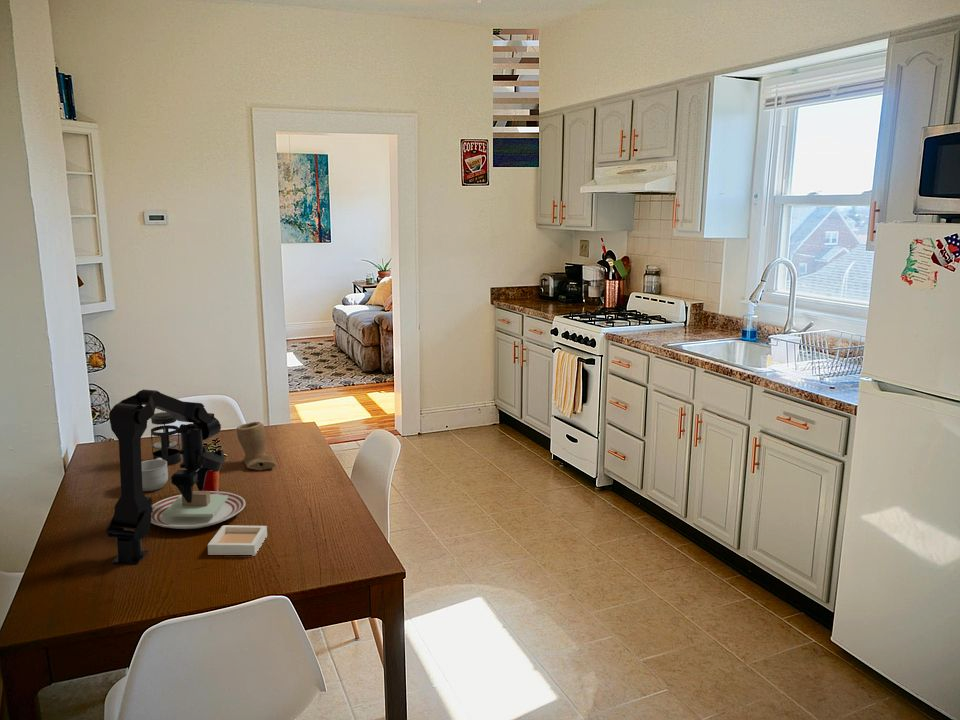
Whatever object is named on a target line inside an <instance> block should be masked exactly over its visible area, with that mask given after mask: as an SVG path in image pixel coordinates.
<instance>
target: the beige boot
mask: <svg viewBox="0 0 960 720" xmlns="http://www.w3.org/2000/svg"><path fill="white" fill-rule="evenodd" d="M265 429H266V428H265V425H264V424H263V423H262V422H260V421H252V422H248V423H243V424H240V425H238V426H237V427H236V434H237V435H236V436H237V439H238V441H239V444H240V446H241V448H242V450H243V452H244V457H243V462H244V464H245V465H246V467H247V469H251V470H255V471H265V470H270V469H272V468H274V467H276V466H277V463H276V460H275V458H274V457H273V455H272V454H271V453H270V452H266V439H267V437H266V430H265Z"/></svg>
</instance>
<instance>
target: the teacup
mask: <svg viewBox="0 0 960 720" xmlns="http://www.w3.org/2000/svg"><path fill="white" fill-rule="evenodd" d="M141 463H142V488H143V492H152V491H157V490H160V489H161V488H163V487H164V486H165V484H166V483H167V482H168V481H169V469H168V466H167V461H165V460H163V459H162V458H157V459H154V460H153V459H148V460H143V461H142V460H141Z"/></svg>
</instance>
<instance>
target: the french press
mask: <svg viewBox="0 0 960 720" xmlns="http://www.w3.org/2000/svg"><path fill="white" fill-rule="evenodd" d="M149 420H150V421H151V424H152V425H158V426H155V427H152V428H151V429H150V436H151V440H150V441H151V452H152V460H154V459H157V458H162V459H163V460H165V461H167V467H168V466H173V465H176V464H179V463H181V462H182V457H181V454H179V451H180V450H181V447H180V446H181V445H180V434H179V433H176V430H177V429H178V428H179V426H177V425H174V423H176V422H177V421H178V420H176V419H175V418H173V417H172V414H170V413H168V412H165V411H162V412H157V413H156V412H155V413H154V415H153V416H152V417H151V418H150V419H149ZM169 424H171V425H169ZM172 424H173V425H172ZM159 425H160V426H159ZM160 430H161V431H163V432H157V431H160ZM169 430H171V431H169ZM176 434H177V439H178V441H176V440H170V436H173V435H174V436H175V435H176ZM153 436H154V437H160V441H158V442H155V443H153ZM176 447H178V449H177V448H176ZM154 449H155V451H154Z"/></svg>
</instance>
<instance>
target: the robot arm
mask: <svg viewBox="0 0 960 720" xmlns="http://www.w3.org/2000/svg"><path fill="white" fill-rule="evenodd" d="M156 409H157V410H159V411H162V412H163V411H164V412H168V413H170V414H172V417H173V418H175V419H176V420H177V421H178V422H181V423H182V422H184V423H187V424H180V426H178V429H177V430H176V434H178V433H179V435H180V443H181V445H180V446H181V448H180V451H179V454H180V455H181V462H180V464H179V466H180V467H179V468H180V469H177V471H175V472H174V473H173V474H172V475H171V476H170V484H172V485H173V486H175V488H177V489H178V491H179V492H180V495H181V494H182V495H183V497H184V498H185V500H186V501H187V503H191V502H192V494H193V491H194V485H196V486H197V489H198V490H197V491H204V487H205V484H206V483H205V482H206V478H207V475H208V472H209V471H210V470H211V471H212V472H213V473H214V472H215V473H217V472H219V471H220V470H221V469H222V467H223V464H224V462H225V461H226V456H225V455H224V450H223V449H220V448H218V449H216V451H208V450H207V449H208V448H207V447H206V445H204V442H203V441H206V440H208V439H210V438H211V437H214V436H216V435H217V434H219V433H220V432H221V429H222V424H221V423H220V421H219V420H218V418H216V417H215V414H214V413H211V412H207V410H206V408H205V405H204V403H201V402H195V401H193V402H192V401H184V400H180V399H178V398H175V397H173V396H170V395H167V394H164V393H162V392H161V391H158V390H154V389H140V390H139V391H138V392H136V393H135V394H134V395H130V396H128V397H127V398H126V397H125V398H124V399H122V400H121V401H119V403H116V404H115V405H114V406H113V407H112V408H111V409H110V410H109V415H108V416H109V424H110V429H111V431H112V432H113V435H115V437H116V438H117V440H118V452H119V453H118V454H119V455H118V456H119V476H120V496H119V497H118V500H117V501H116V503H115V505H114V510H113V511H114V512H113V516H112V518H111V520H110V522H109V524H108V526H107V528H106V530H105V533H106V535H107V537H108V538H112V539H113V538H115V540H116V549H117V552H116V553H117V556H115V558H114V559H113V560H112V561H111V562H112V564H116V565H117V564H121V565H125V564H126V565H127V564H128V565H129V564H130V565H133V564H134V565H137V564H139V563H140V562H141V561H142V560H143V559H144V558H145V557H146V556H147V555H148V554H149V550H143V541H142V539H143V538H145V537H146V536H148V535H149V534H150V529H151V524H152V523H151V517H152V516H151V513H153V510H152V505H153V499H152V497H150V496H145V494H144V491H143V488H142V463H141V462H142V441H141V438H142V437H143V435H144V433H145V431H146V430H147V427H148V421H149V420H151V419H150V418H151V417H152V416H153V415H154V414H155V413H156Z"/></svg>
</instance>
